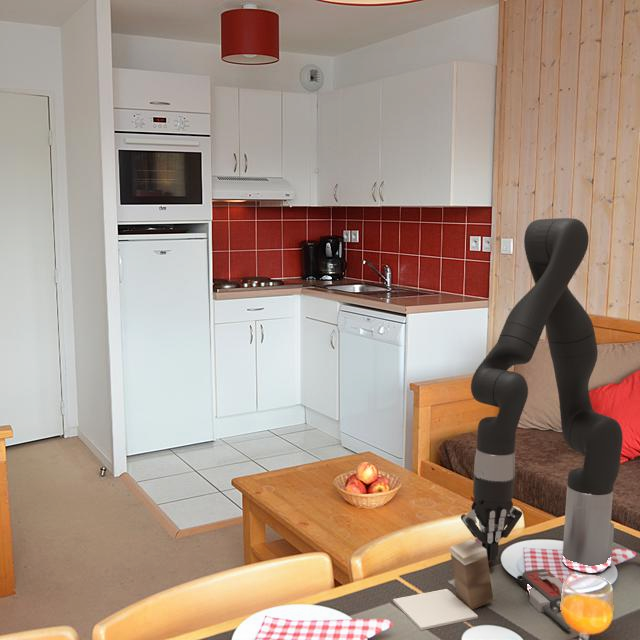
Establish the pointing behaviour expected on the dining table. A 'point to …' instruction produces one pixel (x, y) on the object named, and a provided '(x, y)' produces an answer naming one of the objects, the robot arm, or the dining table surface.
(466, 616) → the cream square tile
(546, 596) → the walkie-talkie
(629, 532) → the dining table surface
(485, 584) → the walnut block
